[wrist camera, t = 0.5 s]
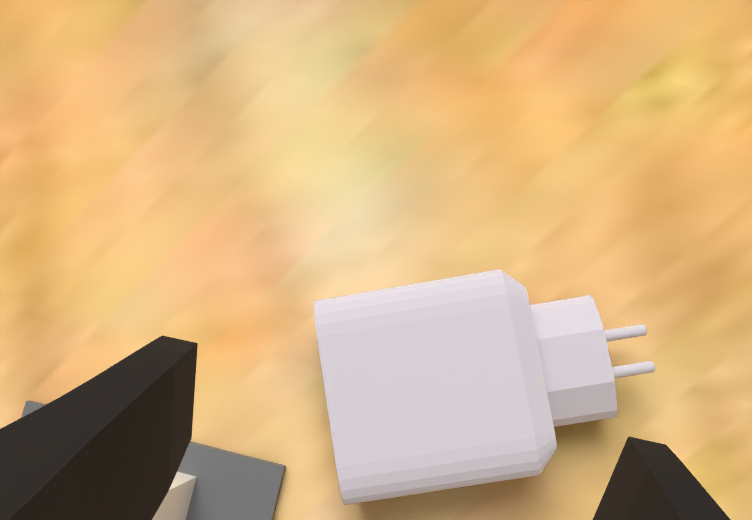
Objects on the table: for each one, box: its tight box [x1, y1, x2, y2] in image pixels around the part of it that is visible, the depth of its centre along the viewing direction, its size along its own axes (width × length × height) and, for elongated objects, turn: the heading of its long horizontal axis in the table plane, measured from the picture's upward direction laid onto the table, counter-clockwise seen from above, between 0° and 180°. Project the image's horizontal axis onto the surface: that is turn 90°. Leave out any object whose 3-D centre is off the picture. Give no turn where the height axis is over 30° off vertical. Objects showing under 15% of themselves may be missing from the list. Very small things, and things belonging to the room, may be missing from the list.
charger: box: [314, 269, 655, 505], centre depth 33 cm, size 5×9×15 cm
